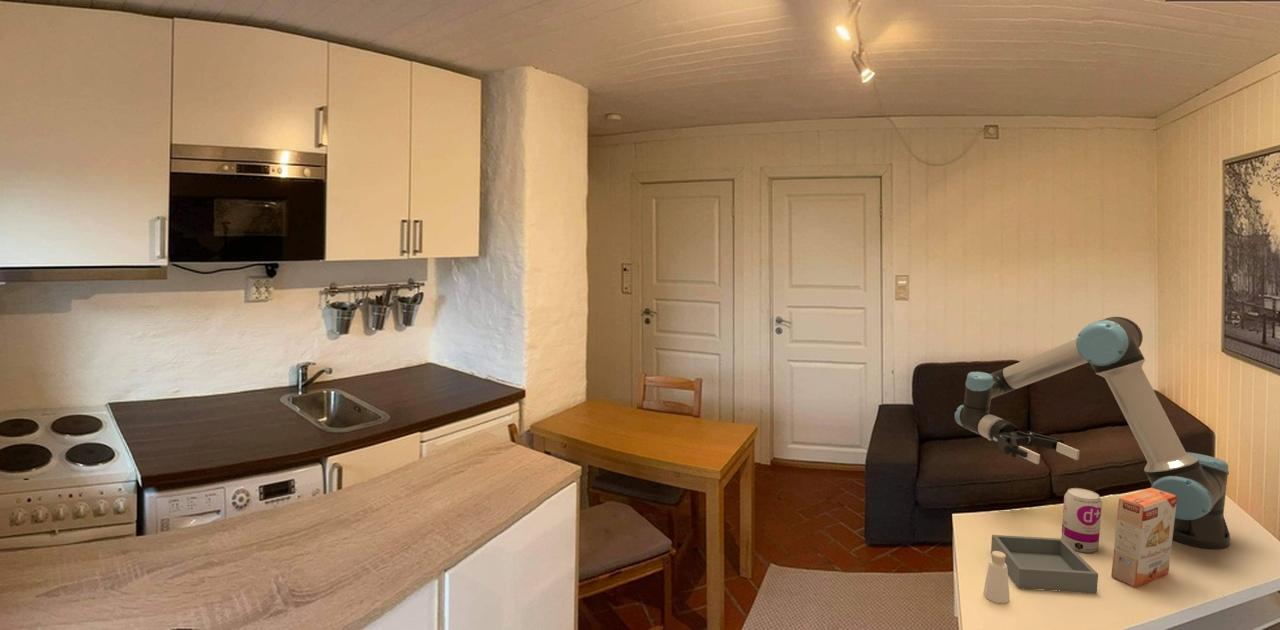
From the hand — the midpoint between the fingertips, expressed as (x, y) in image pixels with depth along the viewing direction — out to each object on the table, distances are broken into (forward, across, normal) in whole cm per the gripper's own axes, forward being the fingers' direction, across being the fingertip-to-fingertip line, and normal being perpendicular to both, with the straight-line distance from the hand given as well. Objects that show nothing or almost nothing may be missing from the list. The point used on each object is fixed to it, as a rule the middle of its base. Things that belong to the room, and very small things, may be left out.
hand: (1058, 457), depth 172 cm
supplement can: (+9, 0, -22) cm, 24 cm away
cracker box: (+25, -1, -21) cm, 33 cm away
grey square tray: (+17, +20, -22) cm, 34 cm away
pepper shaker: (+23, +39, -22) cm, 50 cm away
